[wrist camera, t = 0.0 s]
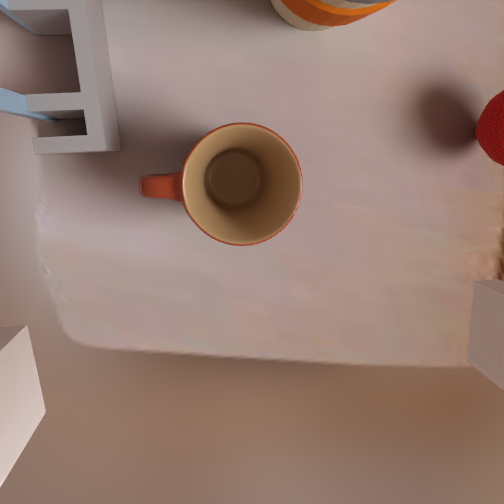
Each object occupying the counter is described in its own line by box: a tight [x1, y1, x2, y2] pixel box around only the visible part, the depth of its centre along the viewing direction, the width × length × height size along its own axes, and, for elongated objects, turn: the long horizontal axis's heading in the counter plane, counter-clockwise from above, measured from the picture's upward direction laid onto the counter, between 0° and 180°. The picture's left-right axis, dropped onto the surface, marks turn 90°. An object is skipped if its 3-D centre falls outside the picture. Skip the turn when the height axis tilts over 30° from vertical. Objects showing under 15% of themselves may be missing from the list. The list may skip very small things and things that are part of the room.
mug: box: [139, 122, 302, 246], centre depth 33 cm, size 12×9×10 cm
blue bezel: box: [0, 0, 57, 122], centre depth 29 cm, size 8×1×11 cm, turn 4°
